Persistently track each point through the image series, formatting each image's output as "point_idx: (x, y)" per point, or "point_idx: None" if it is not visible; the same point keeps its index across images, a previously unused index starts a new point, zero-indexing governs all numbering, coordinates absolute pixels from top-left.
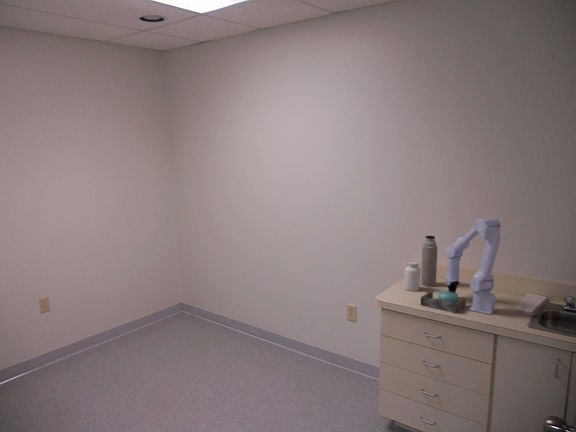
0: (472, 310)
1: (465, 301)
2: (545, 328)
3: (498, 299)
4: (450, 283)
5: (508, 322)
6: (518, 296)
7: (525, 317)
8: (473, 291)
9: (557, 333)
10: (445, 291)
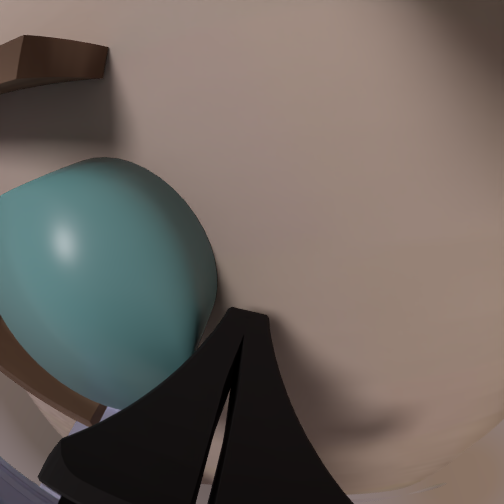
0: None
1: (107, 406)
2: None
3: (341, 477)
4: (24, 478)
5: None
6: (394, 489)
7: None
8: (41, 484)
9: None
10: (115, 295)
